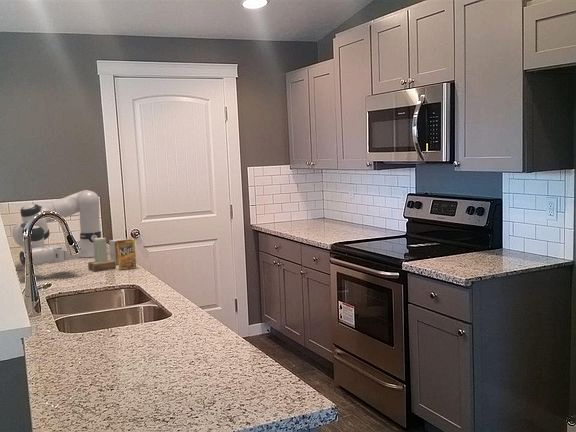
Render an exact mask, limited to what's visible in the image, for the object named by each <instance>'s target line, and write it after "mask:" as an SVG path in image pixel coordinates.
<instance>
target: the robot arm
mask: <svg viewBox="0 0 576 432" xmlns="http://www.w3.org/2000/svg"><path fill="white" fill-rule="evenodd" d="M19 211H20V216H21V219H22V221H23V222H22V221H21V222H18V223H16V224H15V225H13V228H12V231H11V232H12V237H13V240H14V241H15V243H16V244H17V245H18V246H20V247H22V250H21V251H20V252H19V262H20V264H22V265H23V266H25V257H24V241H23V233H24V227H25V225H26V223H27V222H28V220H29V219H30V218H31V217H32V216H34V215H35V214H37V213H39V212H42V211H55V212H57V213H59V214H60V215H61V216H63V217H64V218H68V217H70V216H73V215H76V214H78V213H79V227H80V230H79V231H80V232H79V241H78V243H77V245H79V247H80V252H79V253H78V254H75V255H68V253H67V250H66V246H67V245H66V246H60V244H54V245H53V244H52V245H46V246H45V240H47V239H48V238H49V237H50V235H51V234H50V229H49V226H48V224H49V223H53V222H56V221H55V220H54V219H51V218H44V219H41V220H39V221H38V222H37V223H36V224H35V226H34V227H33V229H32V234H31V242H32V253H33V265H34V266H35V267H36V266H43V265H44V264H45V265H46V264H49V265H50V264H57V263H58V264H59V263H64V262H65V261H70V260H75V259H79V258H95V253H94V241H93V239H95V238H102V231H101V225H100V197H99V195H98V193H96V192H95V191H92V190H88V189H84V190H80V191H78V192H75V193H73V194H70V195H67V196H64V197H63V198H59V199H56V200H54V201H53V200H52V201H51V202H48V203H45V204H43V205H39V204H37V203H29V204H26V205H24V206H22V207H21V208H20V210H19ZM64 218H63V219H64ZM107 254H109V251H108V250H107ZM34 266H33V267H34Z"/></svg>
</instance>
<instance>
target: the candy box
mask: <svg viewBox="0 0 576 432" xmlns="http://www.w3.org/2000/svg"><path fill="white" fill-rule="evenodd" d="M121 239H122V240H117V250H118V263H119V264H118V270H119V271H120V270H130V269H137V256H136V243H135V238H121Z"/></svg>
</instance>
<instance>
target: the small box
mask: <svg viewBox="0 0 576 432" xmlns="http://www.w3.org/2000/svg"><path fill="white" fill-rule="evenodd" d="M122 239H123V238H118V239H111V240H108V241H109V254H110V260H112V261H114V262H115V264H116V265H118V266H119V263H118V250H117V240H122Z"/></svg>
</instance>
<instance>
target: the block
mask: <svg viewBox="0 0 576 432" xmlns="http://www.w3.org/2000/svg"><path fill="white" fill-rule="evenodd" d="M93 241H94V253H95V257H94V261H95V262H98V263H99V262H106V261H108V260H107V259H108V253H107V251H108V250H107V249H108V248H107V238H106V237H101V238H95V239H93Z"/></svg>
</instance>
